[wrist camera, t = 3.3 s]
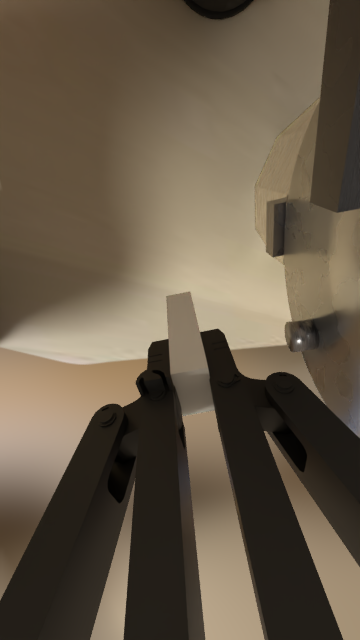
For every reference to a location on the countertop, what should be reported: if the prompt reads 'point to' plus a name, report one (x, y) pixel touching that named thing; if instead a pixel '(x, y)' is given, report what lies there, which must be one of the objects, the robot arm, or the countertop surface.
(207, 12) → the aerosol can
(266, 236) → the pot
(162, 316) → the countertop surface
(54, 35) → the countertop surface
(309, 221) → the lid
